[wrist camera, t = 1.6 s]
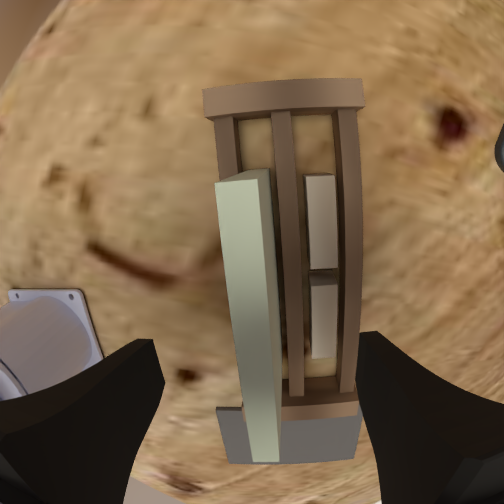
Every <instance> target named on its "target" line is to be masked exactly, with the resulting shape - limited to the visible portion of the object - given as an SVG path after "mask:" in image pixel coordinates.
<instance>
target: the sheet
mask: <svg viewBox="0 0 504 504" xmlns="http://www.w3.org/2000/svg"><path fill="white" fill-rule="evenodd" d="M215 192H216V201H217V210H218V219H219V228H220V236H221V245H222V253H223V261H224V269H225V277H226V285H227V293H228V300H229V308H230V315H231V322H232V330H233V337H234V344H235V351H236V358H237V365H238V371H239V378H240V385H241V391H242V398H243V404H244V410H245V417H246V423H247V429H248V435H249V441H250V447H251V453H252V459H253V462H279V460H280V433H281V397H282V331H281V315H280V299H279V284H278V269H277V255H276V241H275V228H274V215H273V203H272V191H271V179H270V168H264V169H252V170H247V171H244V172H242V173H239V174H236V175H234V176H231V177H229V178H226V179H224V180H221V181H218V182H216V183H215Z"/></svg>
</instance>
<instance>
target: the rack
mask: <svg viewBox="0 0 504 504" xmlns="http://www.w3.org/2000/svg"><path fill="white" fill-rule="evenodd" d="M202 93H203V105H204V116H205V118H207V119H209V120H211V121H213V122H214V128H215V139H216V149H217V159H218V169H219V179H220V181H221V180H224V179H226V178H229V177H231V176H234V175H236V174H239V173H242V163H241V153H240V142H239V132H238V120H247V119H258V118H269V117H271V120H272V130H273V141H274V152H275V163H276V175H277V187H278V200H279V213H280V226H281V240H282V255H283V271H284V287H285V304H286V323H287V344H288V367H289V379H285V380H282V397H281V421H296V420H313V419H326V418H337V417H346V416H355V415H357V412H358V406H359V399H358V394H357V390H356V387H355V374H356V365H357V354H358V343H359V330H360V315H361V297H362V268H363V210H362V181H361V163H360V148H359V135H358V124H357V114H356V112H357V111H358V110H360V109H362V108H364V107H365V100H364V92H363V84H362V79H356V78H318V79H293V80H277V81H264V82H254V83H244V84H236V85H228V86H221V87H214V88H207V89H202ZM323 114H332V122H333V133H334V145H335V158H336V172H337V190H338V213H339V255H340V286H339V329H338V351H337V369H336V376H331V377H319V378H304V334H303V297H302V270H301V249H300V230H299V214H298V198H297V184H296V171H295V159H294V147H293V136H292V125H291V116H299V115H323ZM242 413H243V419H244V421H246V417H245V410H244V404H243V402H242Z"/></svg>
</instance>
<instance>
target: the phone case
mask: <svg viewBox="0 0 504 504" xmlns="http://www.w3.org/2000/svg"><path fill="white" fill-rule="evenodd" d="M495 158H496V162H497V164H498V166H499V167H500V169H501V170H502V171H503V172H504V124H503V127H502V130H501V132H500V135H499V137H498V140H497V142H496V145H495Z"/></svg>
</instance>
